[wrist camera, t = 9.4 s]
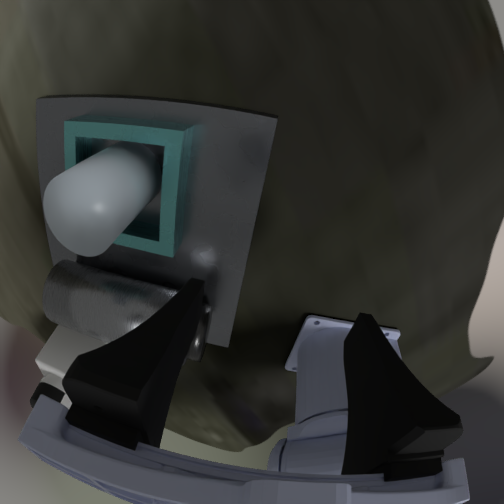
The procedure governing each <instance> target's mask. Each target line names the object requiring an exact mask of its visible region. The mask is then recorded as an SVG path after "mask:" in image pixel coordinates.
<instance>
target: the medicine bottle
mask: <svg viewBox="0 0 504 504" xmlns="http://www.w3.org/2000/svg"><path fill="white" fill-rule="evenodd" d="M105 344H107V343H106V342H103V341H101V340H98V339H95V338H92V337H90V336H87V335H84V334H82V333H79V332H76V331H74V330H71V329H69V328H66V327H64V326H61V325H58V326H57V327H56V329H55V330H54V332H53V333H52V335H51V336H50V338H49V339H48V341H47V342H46V344H45V345H44V347H43V348H42V350H41V351H40V353H39V354H38V356H37V357H36V359H35V360H36V363H37V365H38V367H39V368H40V370H41V372H42V374H43V375H44V378H42V380H41V381H40V383H39V385H38V386H37V388H36V390H35V392H34V394H33V396H32V397H31V399H30V403H31V406H32V408H34V406H35V404H36V402H37V400H38V398H39V397H40V395H42V394H43V395H45V396H47V397H49V398H51V399H53V400H55V401H57V402H59V403H61V404H63V405H64V406H66V407H67V408H68V409H70V407H71V404H72V402H71V401H70V399H69V397H68V396H67V394H66V392H65V390H64V388H63V386H62V379H63V378H64V376H65V374H66V372H67V370H68V369H69V367H70V365H71V364H72V363H73V361H74V360H75V359H76V357H77V356H78V355H80V354H83V353H86V352H89V351H91V350H94V349H97V348H99V347H101V346H103V345H105Z"/></svg>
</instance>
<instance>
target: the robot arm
mask: <svg viewBox="0 0 504 504" xmlns="http://www.w3.org/2000/svg"><path fill="white" fill-rule="evenodd" d="M204 286H205V281H204V280H200V279H196V278H190V279H189V280H188V281H187V282H186V283H185V285H184V286H183V287H182V288H181V289H180V290H179V291H178V292H177V293H176V294H175V295H174V296H173V297H172V298H171V299H170V300H169V301H168V302H167V303H166V304H165V305H164V306H163V307H161V308H160V309H159V310H158V311H157V312H156V313H154V314H153V315H152V316H151V317H150V318H148V319H147V320H146V321H144V322H143V323H141V324H140V325H139V326H137V327H136V328H134V329H133V330H131V331H129V332H128V333H126V334H125V335H123V336H121V337H119V338H117V339H116V340H114V341H111V342H109V343H107V344H105V345H103V346H101V347H99V348H97V349H94V350H91V351H89V352H86V353H83V354H80V355H78V356H77V357H76V359H75V360H74V361H73V363H72V364H71V365H70V367H69V369H68V370H67V372H66V374H65V376H64V378H63V379H62V386H63V388H64V390H65V392H66V394H67V396H68V397H69V399H70V401H71V402H72V404H71V407H70V409H68V408H67V407H66V406H64V405H63V404H61V403H59V402H57V401H55V400H53V399H51V398H49V397H47V396H45V395H43V394H42V395H40V397H39V398H38V400H37V402H36V404H35V406H34V408H33V410H32V412H31V414H30V415H29V417H28V419H27V421H26V423H25V425H24V427H23V429H22V431H21V433H20V436H19V438H18V441H19V442H20V443H21V444H22V445H24V446H25V447H26V448H27V449H28V450H30V451H31V452H32V453H33V454H34V455H36V456H37V457H38V458H39V459H41V460H42V461H44V462H46V463H47V464H49V465H51V466H53V467H55V468H57V469H58V470H61V471H62V472H64V473H66V474H68V475H70V476H72V477H74V478H76V479H78V480H80V481H82V482H84V483H86V484H88V485H90V486H92V487H95V488H97V489H99V490H101V491H103V492H106V493H108V494H110V495H113V496H115V497H118V498H120V499H123V500H126V501H128V502H131V503H133V504H462V503H464V502H466V501H468V500H469V499H470V495H469V488H468V482H467V475H466V470H465V464H464V459H463V458H457V459H452V460H447V461H444V462H441V457H443V456H444V450H443V449H445V448H446V447H447V446H449V445H450V444H452V443H453V442H455V441H456V440H457V439H458V438H459V437H460V436H461V435H462V433H463V427H462V423H461V419H460V416H459V415H458V414H456V413H455V412H454V411H452V410H451V409H450V408H448V407H447V406H445V405H444V404H443V403H442V402H440V401H439V400H438V399H437V398H436V397H435V396H434V395H432V394H431V393H430V392H429V391H428V390H427V389H426V388H425V387H424V386H423V385H422V384H421V383H420V382H419V381H418V379H417V378H416V377H415V376H414V375H413V374H412V372H411V371H410V370H409V369H408V368H407V366H406V365H405V364H404V362H403V361H402V358H401V354H400V350H399V347H398V343H397V339H398V338H399V336H400V331H399V330H397V329H390V328H384V327H379V325H378V324H377V322H376V321H375V319H374V318H373V316H372V315H371V314H365V313H359V315H358V317H357V319H356V321H355V322H348V321H342V320H336V319H331V318H325V317H320V316H315V315H309V316H307V317H306V319H305V321H304V324H303V326H302V328H301V330H300V333H299V335H298V337H297V340H296V342H295V344H294V346H293V348H292V351H291V353H290V355H289V357H288V359H287V362H286V364H285V369H286V370H289V371H295V372H297V388H296V416H295V426H291V427H288V432H287V438H284V439H281V440H279V441H278V443H277V444H276V445H275V447H274V448H273V449H272V451H271V453H270V456H269V460H268V466H267V470H259V469H252V468H245V467H239V466H233V465H228V464H222V463H217V462H212V461H207V460H202V459H198V458H194V457H190V456H186V455H182V454H178V453H174V452H170V451H167V450H163V449H160V448H159V447H160V443H161V439H162V434H163V430H164V426H165V422H166V418H167V414H168V410H169V406H170V402H171V399H172V395H173V391H174V388H175V384H176V381H177V378H178V375H179V372H180V369H181V367H182V365H183V362H184V360H185V357H186V355H187V353H188V350H189V348H190V345H191V343H192V341H193V338H194V336H195V333H196V330H197V327H198V324H199V320H200V317H201V313H202V304H203V295H204ZM315 321H318V322H315Z"/></svg>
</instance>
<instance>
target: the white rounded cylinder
mask: <svg viewBox="0 0 504 504" xmlns="http://www.w3.org/2000/svg"><path fill="white" fill-rule="evenodd" d="M161 181H162V173H161V168H160V165H159V162H158V160H157V158H156V157H155V155H154V154H153V153H152V151H151V150H150V149H148V148H147V147H146V146H144V145H143V144H141V143H138V142H129V141H121V142H118V143H116V144H114V145H112V146H110V147H108V148H106V149H104V150H102V151H100V152H98V153H96V154H94V155H93V156H91V157H89V158H87V159H85V160H83V161H82V162H80V163H78V164H76V165H75V166H73V167H71V168H69V169H68V170H66V171H64V172H63V173H61V174H59V175H58V176H56V177H55V178H53V179H52V180H51V181H50V183H49V184H48V186H47V187H46V190H45V193H44V199H43V208H44V214H45V218H46V221H47V223H48V225H49V228H50V229H51V231H52V233H53V234H54V236H55V237H56V238H57V240H58V241H59V242H60V243H61V244H62V245H63V246H65V247H66V248H67V249H69V250H70V251H72V252H74V253H76V254H78V255H82V256H87V257H92V256H97V255H100V254H102V253H103V252H105V251H106V250H107V249H108V247H109V246H110V245H111V244H112V243H113V242H114V241H115V239H116V238H117V237H118V236H119V235H120V234H121V233H122V232H123V231H124V229H125V228H126V227H127V226H128V225H129V224H130V223H131V222H132V221H133V220H134V219H135V218H136V216H137V215H138V214H139V213H140V212H141V211H142V210H143V209H144V208H145V207H146V206H147V205H148V204H149V203H150V202H151V201H152V200H153V199H154V198H155V196H156V195H157V194H158V192H159V189H160V186H161Z"/></svg>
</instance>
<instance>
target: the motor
mask: <svg viewBox="0 0 504 504" xmlns="http://www.w3.org/2000/svg"><path fill="white" fill-rule="evenodd" d="M277 120H278V116H277V115H272V114H267V113H262V112H257V111H252V110H247V109H241V108H235V107H229V106H223V105H217V104H210V103H203V102H195V101H187V100H177V99H168V98H156V97H143V96H124V95H53V96H45V97H42V98H38V99H36V138H37V158H38V171H39V182H40V191H41V199H42V207H43V199H44V193H45V190H46V187H47V186H48V184H49V183H50V181H51V180H52V179H53V178H55V177H56V176H58V175H59V174H61V173H63V172H64V171H66V170H68V169H69V168H71V167H73V166H75V165H76V164H78V163H80V162H82V161H83V160H85V159H87V158H89V157H91V156H93V155H94V154H96V153H98V152H100V151H102V150H104V149H106V148H108V147H110V146H112V145H114V144H116V143H118V142H121V141H129V142H138V143H141V144H143V145H144V146H146V147H147V148H148V149H150V150H151V151H152V153H153V154H154V155H155V157H156V158H157V160H158V162H159V165H160V168H161V173H162V181H161V186H160V189H159V192H158V194H157V195H156V196H155V198H154V199H153V200H152V201H151V202H150V203H149V204H148V205H147V206H146V207H145V208H144V209H143V210H142V211H141V212H140V213H139V214H138V215H137V216H136V218H135V219H134V220H133V221H132V222H131V223H130V224H129V225H128V226H127V227H126V228H125V229H124V231H123V232H122V233H121V234H120V235H119V236H118V237H117V238H116V239H115V241H114V242H113V243H112V244H111V245H110V246H109V247H108V249H107V250H106V251H105V252H103V253H102V254H100V255H97V256H92V257H87V256H82V255H78V254H76V253H74V252H72V251H70V250H69V249H67V248H66V247H65V246H63V245H62V244H61V243H60V242H59V241H58V240H57V238H56V237H55V236H54V234H53V233H52V231H51V229H50V228H49V225H48V223H47V221H46V218H45V214H44V208H43V214H44V220H45V226H46V232H47V237H48V242H49V247H50V252H51V257H52V262H53V266H54V267H53V268H52V270H51V271H50V273H49V275H48V277H47V279H46V282H45V285H44V290H43V309H44V312H45V315H46V317H47V318H48V319H49V320H50V321H52V322H54V323H56V324H59V325H61V326H64V327H66V328H69V329H71V330H74V331H76V332H79V333H82V334H84V335H87V336H90V337H92V338H95V339H98V340H101V341H103V342H106V343H109V342H111V341H114V340H116V339H117V338H119V337H121V336H123V335H125V334H126V333H128V332H129V331H131V330H133V329H134V328H136V327H137V326H139V325H140V324H141V323H143V322H144V321H146V320H147V319H148V318H150V317H151V316H152V315H153V314H154V313H156V312H157V311H158V310H159V309H160V308H161V307H163V306H164V305H165V304H166V303H167V302H168V301H169V300H170V299H171V298H172V297H173V296H174V295H175V294H176V293H177V292H178V291H179V290H180V289H181V288H182V287H183V286H184V285H185V283H186V282H187V281H188V280H189V279H190V278H196V279H200V280H204V281H205V286H204V295H203V304H202V313H201V317H200V320H199V324H198V327H197V330H196V333H195V336H194V338H193V341H192V343H191V345H190V348H189V350H188V353H187V355H186V357H185V360H184V362H183V365H184V364H185V363H186V360H187V359H189V360H193V361H197V362H201V360H202V357H203V354H204V350H205V347H206V343H210V344H214V345H219V346H223V347H228V346H229V342H230V337H231V332H232V328H233V323H234V318H235V314H236V309H237V304H238V300H239V295H240V290H241V286H242V281H243V277H244V272H245V267H246V263H247V258H248V253H249V249H250V244H251V240H252V235H253V230H254V226H255V221H256V216H257V212H258V207H259V203H260V198H261V193H262V189H263V184H264V180H265V175H266V170H267V166H268V161H269V157H270V152H271V148H272V143H273V138H274V134H275V129H276V125H277ZM183 365H182V366H183Z"/></svg>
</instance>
